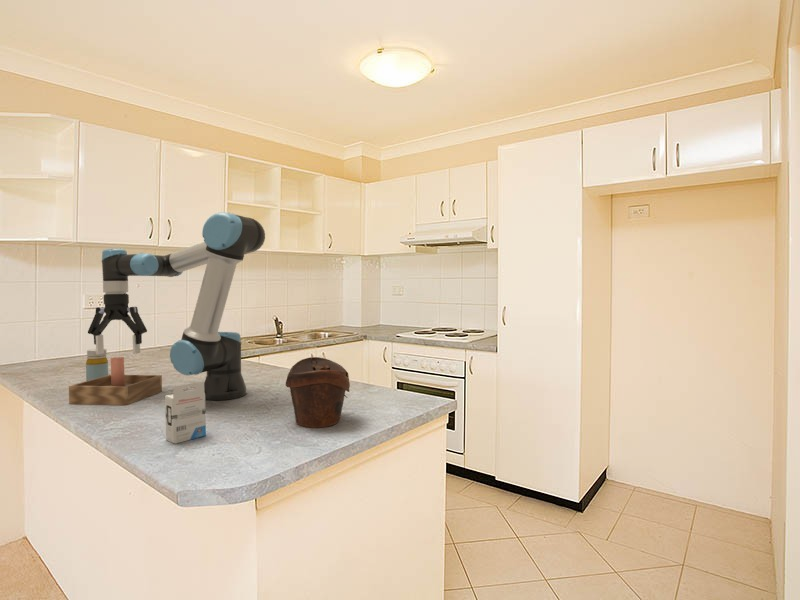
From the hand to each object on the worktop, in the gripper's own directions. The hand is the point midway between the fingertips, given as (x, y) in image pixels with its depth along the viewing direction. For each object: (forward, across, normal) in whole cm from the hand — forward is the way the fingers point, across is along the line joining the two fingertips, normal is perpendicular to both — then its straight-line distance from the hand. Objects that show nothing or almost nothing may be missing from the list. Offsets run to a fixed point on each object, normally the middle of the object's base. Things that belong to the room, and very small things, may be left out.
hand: (118, 353), depth 162 cm
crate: (+16, +1, 0) cm, 16 cm away
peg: (+16, +1, 0) cm, 16 cm away
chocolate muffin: (+18, -77, +22) cm, 82 cm away
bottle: (+15, +18, -12) cm, 26 cm away
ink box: (+17, -46, +39) cm, 63 cm away
